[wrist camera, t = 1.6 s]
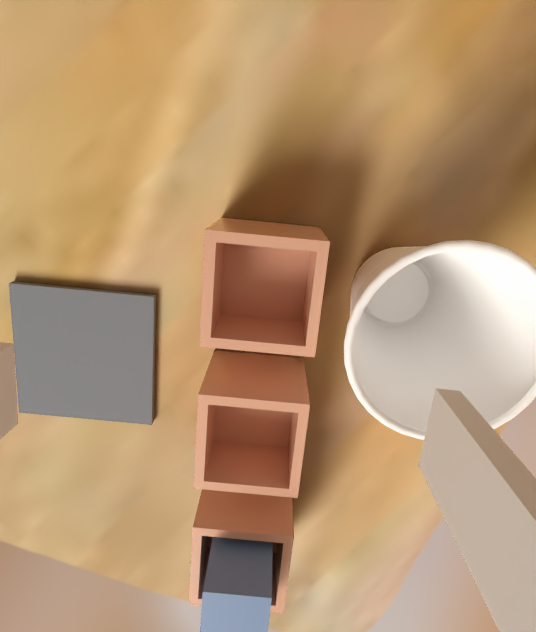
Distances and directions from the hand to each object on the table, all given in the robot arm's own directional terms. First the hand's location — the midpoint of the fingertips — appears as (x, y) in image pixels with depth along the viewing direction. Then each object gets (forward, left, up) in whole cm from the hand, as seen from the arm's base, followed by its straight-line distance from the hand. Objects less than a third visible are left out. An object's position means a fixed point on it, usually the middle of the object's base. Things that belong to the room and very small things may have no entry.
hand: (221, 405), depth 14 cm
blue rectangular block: (+15, -10, -16) cm, 24 cm away
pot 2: (+8, -4, -18) cm, 20 cm away
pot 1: (0, +1, -18) cm, 18 cm away
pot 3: (+15, -10, -18) cm, 26 cm away
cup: (+6, +8, -18) cm, 21 cm away
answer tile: (-1, -13, -18) cm, 23 cm away
